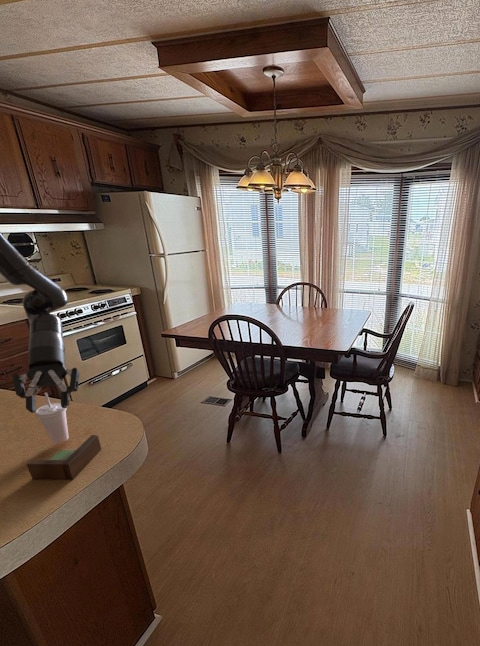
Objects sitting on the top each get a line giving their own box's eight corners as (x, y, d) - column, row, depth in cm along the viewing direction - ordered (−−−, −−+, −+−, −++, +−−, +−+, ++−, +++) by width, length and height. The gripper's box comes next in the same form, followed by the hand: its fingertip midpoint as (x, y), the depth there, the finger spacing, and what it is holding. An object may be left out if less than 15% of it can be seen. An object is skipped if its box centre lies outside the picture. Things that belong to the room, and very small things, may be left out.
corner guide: (27, 479, 80) (21, 464, 78) (62, 449, 91) (57, 434, 89) (73, 479, 80) (68, 464, 79) (101, 449, 91) (97, 434, 90)
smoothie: (71, 430, 97) (58, 385, 91) (77, 440, 92) (63, 394, 87) (43, 438, 92) (28, 392, 87) (47, 449, 88) (31, 402, 83)
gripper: (6, 347, 86) (5, 410, 81) (74, 341, 92) (77, 400, 87) (19, 359, 92) (19, 418, 87) (82, 353, 98) (85, 408, 93)
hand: (48, 409), depth 87 cm, fingers closed on smoothie, 6 cm apart
